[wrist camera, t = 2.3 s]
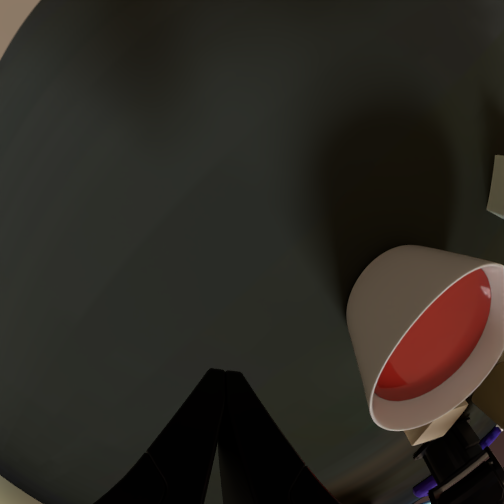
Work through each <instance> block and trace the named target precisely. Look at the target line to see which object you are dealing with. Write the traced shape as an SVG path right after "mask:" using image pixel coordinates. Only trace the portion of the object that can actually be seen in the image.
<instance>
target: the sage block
mask: <svg viewBox="0 0 504 504" xmlns="http://www.w3.org/2000/svg"><path fill="white" fill-rule="evenodd" d="M486 210H487V211H489V212H491V213H493V214H495V215H497V216H499V217H500V218H502V219H504V156H501V155H495V161H494V169H493V176H492V182H491V189H490V194H489V199H488V204H487V209H486Z"/></svg>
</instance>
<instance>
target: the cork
mask: <svg viewBox="0 0 504 504" xmlns="http://www.w3.org/2000/svg"><path fill="white" fill-rule="evenodd" d="M471 400H472V402H473V403H474V404H475V405H476V406H477V407H478V408H479V409H481V410H482V411H483V412H484V413H485V414H486V415H487V416H488V417H489V418H491V419H492V420H493V421H494V422H495V423H496V424H497V425H498V426H499V427H500V428H502V429H503V430H504V362H501V363H499V364H498V365H496V366H495V367H494V368H493V369H492V370H491V372H490V373H489V374H488V375H487V377H486V378H485V379H484V380H483V382H482V383H481V384H480V385H479V386H478V387H477V388H476V390H475V391H474V393H473V396H472V399H471Z"/></svg>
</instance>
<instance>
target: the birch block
mask: <svg viewBox="0 0 504 504" xmlns="http://www.w3.org/2000/svg"><path fill="white" fill-rule="evenodd" d="M468 405H469V404H468V403H467V402H466V401H465V400H464V401H463V402H461V403H460V404H459V405H458V406H456V407H455V408H454V409H452V410H451V411H450V412H448V413H447V414H445V415H443V416H442V417H440V418H438V419H436V420H434V421H432V422H430V423H428V424H426V425H423V426H420V427H417V428H414V429H410V430H404V432H405V434H406V436H407V438H408V440H409V441H410V443H411V445H412V446H414V445H417V444H421V443H424V442H427V441H430V440H433V439H436V438H439V437H442V436H444V435H445V433H446V432H447V431H448V430H449V429H450V428H451V426H452V425H453V424H454V423H455V421H456V420H457V419H458V418H459V416H460V415H461V414H462V413H463V411H464V410H465V409H466V407H467V406H468Z"/></svg>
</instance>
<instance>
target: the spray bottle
mask: <svg viewBox="0 0 504 504" xmlns="http://www.w3.org/2000/svg"><path fill="white" fill-rule="evenodd" d="M501 431H503V429H502V428H500V427H499V426H498V425H496V426H495V427H494V428H493V429H492V431H491V432H490V433H488V434H487V435H486V436H485V437H484V439H482V440H481V441H480V442H479V444H480V446H481V447H482V449H483V450H484V448H485V447H486V446H489V445H490V444H491V443H492V442H493V441H494V440H495V439H496V438H497V436H498V435H499V434H500V433H501ZM435 486H437V484H436V482H435V480H434V478H433V476H432V475H431V476H430V477H428V478H427V479H426V480H424V481H423V482H421V483H420V484H418V485H417V486H416V487H414V488H413V492H414V494H415V496H417V497H424V496H428V494H427V493H428V490H430V489H431V488H434V487H435Z"/></svg>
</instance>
